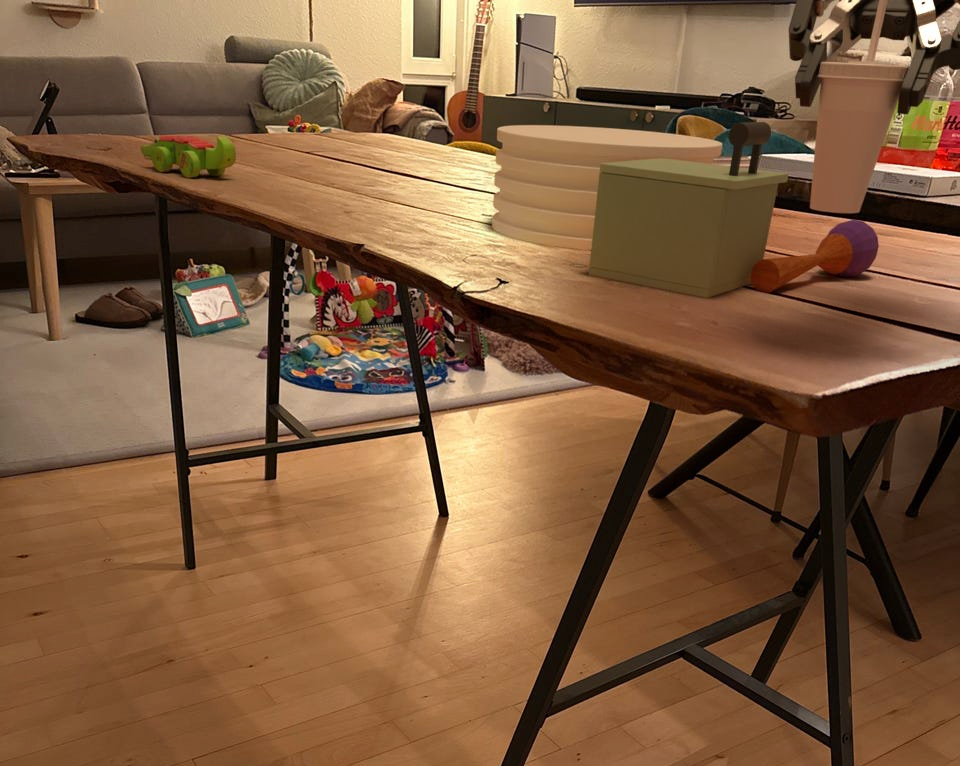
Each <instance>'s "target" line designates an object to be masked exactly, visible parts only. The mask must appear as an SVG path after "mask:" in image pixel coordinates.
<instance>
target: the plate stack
mask: <svg viewBox="0 0 960 766" xmlns="http://www.w3.org/2000/svg"><path fill="white" fill-rule="evenodd" d="M496 141H498V142H500V143H501V144H502V145H501V146H502V148H499V149H496V151H495V163H496V164H497V165H498V166H501V167H500V170H497V171H495V173H494V181H493V182H494V183H493V184H494V186H495V187H496V188H497V189H499V191H497V192H496V193H494V194H493V198H492V199H493V202H492V206H493V208H494V209H495V210H496V211H498V212H495V213H494V214H493V215H492V217H491V219H492V221H491V227H492V229H493V230H494V231H495V232H497V233H498V234H501V235H504V236H505V237H506V236H507V237H509V238H513V239H517V240H520V241H525V242H528V243H535V244H540V245H545V246H552V247H558V248H566V249H567V248H568V249H574V250H585V251H591V248H592V238H593V229H594V220H595V210H596V201H597V192H598V183H599V174H600V173H602V172H600V164H601V163H610V162H622V161H633V160H645V159H656V158H665V159H673V160H681V161H690V162H698V163H706V164H715V165H717V164H716V163H714V159H715V158H718V157H720V156H722V149H723V142H720V141H718V140H715V139H710V138H705V137H698V136H693V135H685V134H676V133H669V132H658V131H649V130H648V131H647V130H637V129H625V128H624V129H623V128H612V127H611V128H610V127H596V126H595V127H594V126H577V125H552V124H551V125H549V124H518V125H517V124H515V125H503V126H499V127H497V130H496Z"/></svg>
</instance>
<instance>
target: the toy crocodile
mask: <svg viewBox="0 0 960 766" xmlns="http://www.w3.org/2000/svg"><path fill="white" fill-rule="evenodd" d="M153 141H154V142H152V143H150V144H148V145H146V144H145V145H144V144H143V145H141V147H140V151H141V154H142V155H143V158H144V159H145V160H146V161H147V160H148V161H151V162H152V165H153V167H154V168H155V170H156V171H158V172H160V173H166V172H167V173H169V172H170V171H171V170H173V166H174V165H176V166H178V167H179V171H180V172H181V174H182V175H183V176H184V177H185V178H186V179H193V178H197V177H198V176H199V175H200V173H201V171H207V173H208V174H209V175H210V176H212V177H221V176H223V175H224V174H225V172H226V169H227V168H228V169H229V168H231V167H232V166H234V164H235V162H236V160H237V153H236V152H237V151H236V148H235V145H234V143H233V141H232V140H231V139H230V138H229V137H227V136H226V135H223V136H222V135H221V136H216V143H217V144H216V146H214V145H213V144H212V143H210V142H208V141H207V140H201V139H200V138H199V137H194V136H180V135H177V136H176V135H161V136H160V137H156V138H154V139H153Z"/></svg>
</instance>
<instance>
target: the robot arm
mask: <svg viewBox="0 0 960 766" xmlns="http://www.w3.org/2000/svg"><path fill="white" fill-rule="evenodd" d="M834 1H835V0H796V2H795V6H794V8H793V11H792V16H791V19H790V22H789V25H788V51H789V59H790V60H791V61H793V62H799V61H800V64H799V66H798V68H797V72H796V74H795V76H794V84H795V99H799V107H804V108H811V107H812V104H813V102H814V99H815V98H816V95H817V93H818V90H819V89H820V86H821V78H819V77H817V75H818V74H819V69H820V63H821V62H832V60H833V59H835V57H836V56H838V55H839V54H840V53H843V54H845V53H847V52H849V50H850V49H851V48H853V47H854V46H855V45H856V44H857V43H859V42H860V40H871V36H872V32H873V27H874V22H875V18H876V13H877V8H878V4H879V0H838V2H837V3H836V4H835V5H834V7H833V8H832V9H831V12H830V14H829V16H828V17H827V18H826V19H825V20H824V21H823V22H822V23H820V24H819V25H818V26H817V27H816V28H815V24H816V22H817V18H821V17H823V16H824V11H826V10H827V9H828V8H829V6H830V5H831V3H832V2H834ZM956 4H958V5H959V6H960V0H888V1H887V5H886V10H885V15H884V19H883V24H882V28H881V33H880V37H879V39H881V38H884V39H887V40H892V41H903V42H904V41H905V39H906V38H907V39H908V43H909V46H910V50H911V53H912V58H911V61H910V64H909V65H908V66H909V68H908V71H907V73H906V76H905V78H904V81H903V84H902V86H901V89H900V93H899V99H898V102H897V115H906V116H907V115H909V114H910V111H911V108H918V107H919V106H920V105H921V104H922V103H923V101H924V99H925V96H926V95H927V91H928V89H929V86H930V83H931V81H932V78H933V76H934V74H935V73H936V72H937V71H938V70H939V69H941V68H945V67H948V68H949V69H950V70H952V71H958V70H959V71H960V20H958V22H957V25H956V27H955V28H954V30H953V32H952V34H951V35H947V36H943V37H942V36H941V32H940V29H939V25H938V22H937V19H938V18H939V17H941V16H942V15H944V14H945V13H947V12H948V11H949V10H951V9H952V8H953V7H954V6H955V5H956ZM814 28H815V29H814Z"/></svg>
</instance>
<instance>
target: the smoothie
mask: <svg viewBox="0 0 960 766" xmlns="http://www.w3.org/2000/svg"><path fill="white" fill-rule="evenodd" d="M887 1H888V0H879V4H878V8H877V13H876V18H875V22H874V27H873V32H872V36H871V39H870V41H869V46H868V50H867V55H866V58H865V59H866V61H865V60H848V62H841V61H840V62H838V61H830V62H821V63H820V69H819V74H818V75H817V77H819V78H821V83H820V87H819V99H818V108H817V109H818V110H817V121H816V133H815V145H814V155H813V167H812V177H811V190H810V202H809V209H811V210H814V211H817V212H824V213H825V212H827V213H834V214H835V213H836V214H859V213H860V211H861V208H862V206H863V202H864V200H865V197H866V194H867V191H868V189H869V185H870V183H871V179H872V177H873V173H874V170H875V168H876V165H877V163H878V160H879V156H880V153H881V150H882V148H883V145H884V142H885V139H886V136H887V134H888V131H889V128H890V124H891V122H892V119H893V116H894V113H895V111H896V108H897V106H898V99H899V93H900V89H901V86H902V84H903V81H904V78H905V76H906V73H907V71H908V68H909V66H910V65H903V64H902V65H901V64H891V63H890V62H887V61H875V60H876V55H877V52H878V46H879V41H880V38H879V37H880V33H881V28H882V24H883V19H884V15H885V10H886V5H887Z"/></svg>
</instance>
